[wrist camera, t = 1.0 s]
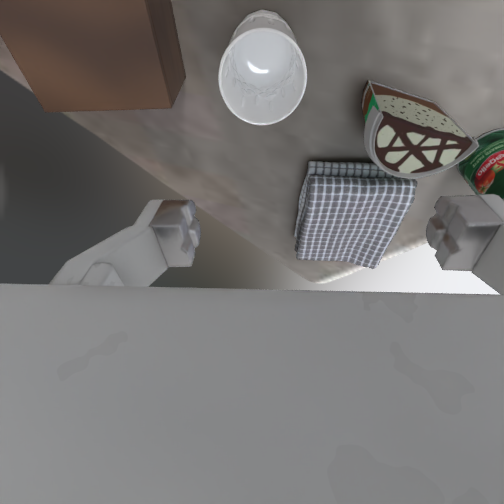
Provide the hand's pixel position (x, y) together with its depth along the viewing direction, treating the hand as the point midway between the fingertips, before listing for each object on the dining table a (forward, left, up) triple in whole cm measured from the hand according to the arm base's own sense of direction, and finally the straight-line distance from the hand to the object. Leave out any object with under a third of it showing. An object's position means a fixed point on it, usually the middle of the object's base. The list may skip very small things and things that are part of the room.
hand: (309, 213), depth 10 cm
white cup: (+3, -2, -31) cm, 31 cm away
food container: (+11, +14, -31) cm, 36 cm away
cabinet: (-1, -18, -31) cm, 36 cm away
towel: (+26, +11, -31) cm, 42 cm away
